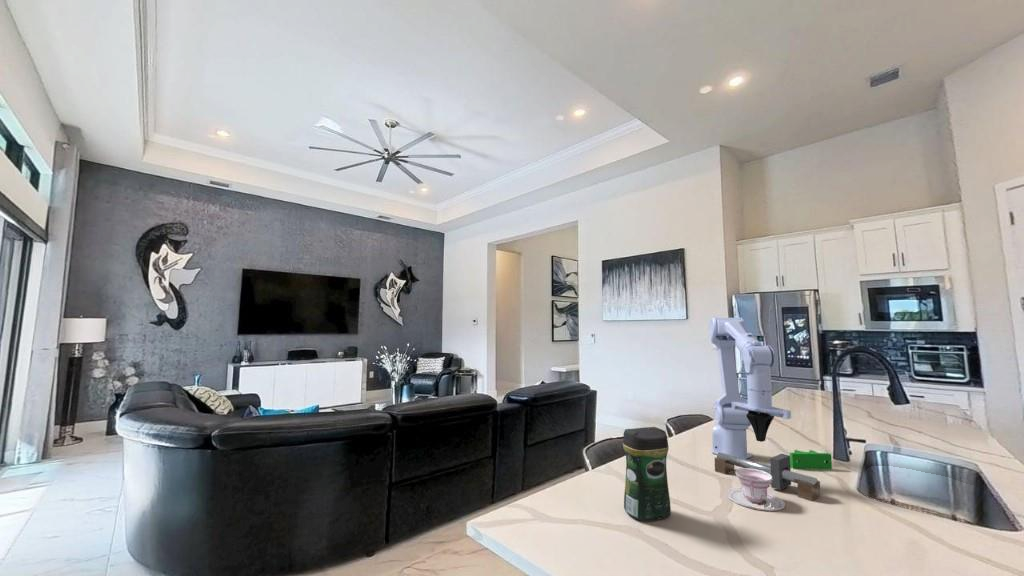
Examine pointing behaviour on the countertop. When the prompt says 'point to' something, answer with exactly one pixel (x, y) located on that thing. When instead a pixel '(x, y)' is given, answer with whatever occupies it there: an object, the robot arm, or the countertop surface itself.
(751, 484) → the teacup
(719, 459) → the pipe rig
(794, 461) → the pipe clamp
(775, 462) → the collar
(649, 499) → the coffee jar
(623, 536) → the countertop surface
